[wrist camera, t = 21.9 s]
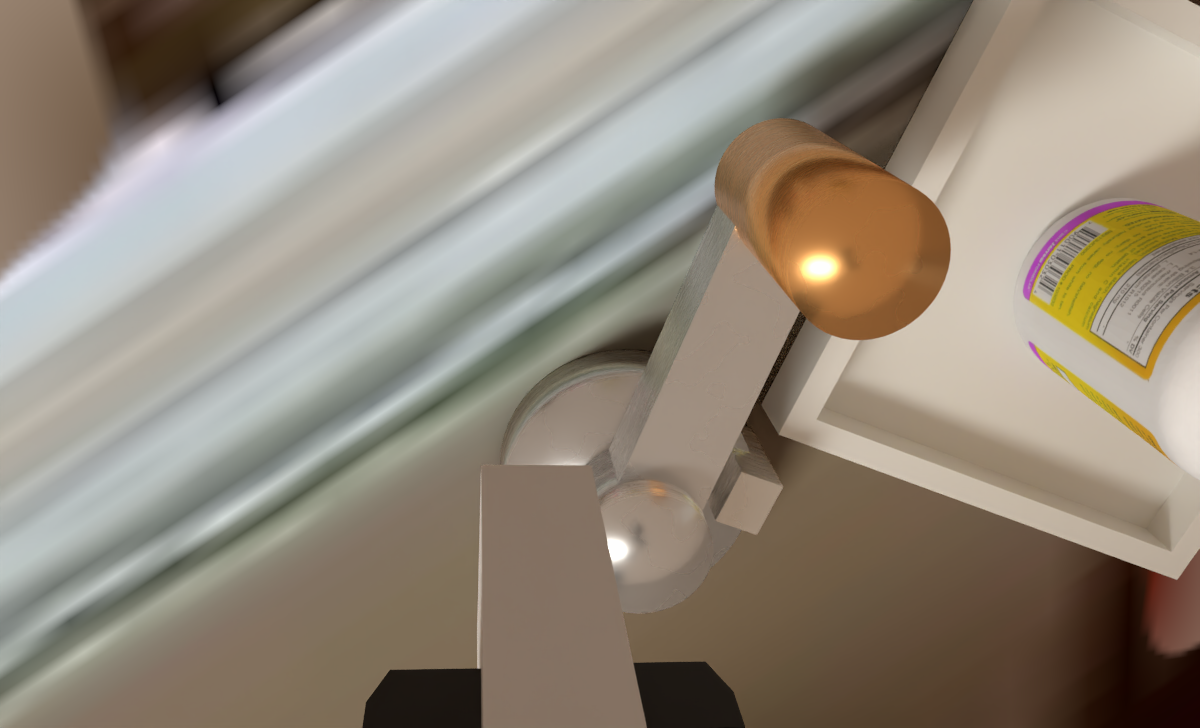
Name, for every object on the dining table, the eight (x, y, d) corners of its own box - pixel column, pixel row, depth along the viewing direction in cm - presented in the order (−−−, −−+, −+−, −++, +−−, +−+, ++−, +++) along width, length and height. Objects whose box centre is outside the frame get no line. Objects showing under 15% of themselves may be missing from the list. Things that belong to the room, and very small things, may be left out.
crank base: (676, 590, 42) (698, 662, 38) (464, 523, 40) (462, 592, 36) (778, 397, 39) (814, 453, 35) (556, 314, 37) (566, 363, 33)
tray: (1140, 545, 44) (1177, 579, 42) (760, 405, 39) (778, 434, 37) (1418, 142, 38) (1478, 156, 36) (1012, -74, 34) (1051, -74, 32)
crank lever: (663, 568, 38) (711, 734, 30) (549, 535, 37) (569, 697, 29) (866, 148, 33) (987, 217, 25) (741, 96, 32) (826, 151, 24)
